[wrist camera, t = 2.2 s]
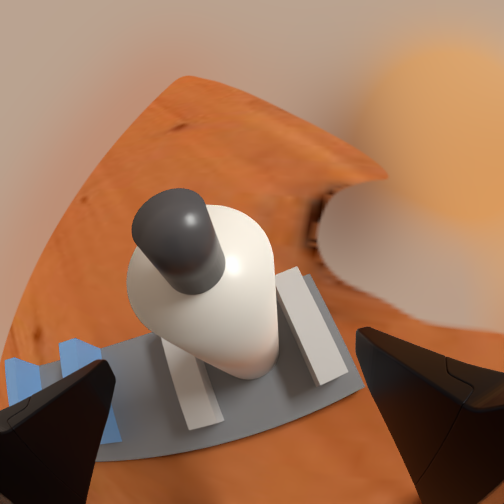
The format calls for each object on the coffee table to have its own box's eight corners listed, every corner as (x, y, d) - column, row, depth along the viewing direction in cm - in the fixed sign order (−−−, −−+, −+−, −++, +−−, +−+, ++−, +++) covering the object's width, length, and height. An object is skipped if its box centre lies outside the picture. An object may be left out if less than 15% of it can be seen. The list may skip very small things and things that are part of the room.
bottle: (288, 366, 16) (308, 265, 4) (230, 387, 16) (90, 343, 4) (265, 313, 18) (232, 133, 6) (210, 333, 18) (88, 191, 6)
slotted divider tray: (361, 387, 16) (381, 383, 12) (45, 459, 13) (15, 459, 10) (308, 278, 20) (313, 251, 17) (28, 371, 18) (-1, 361, 14)
